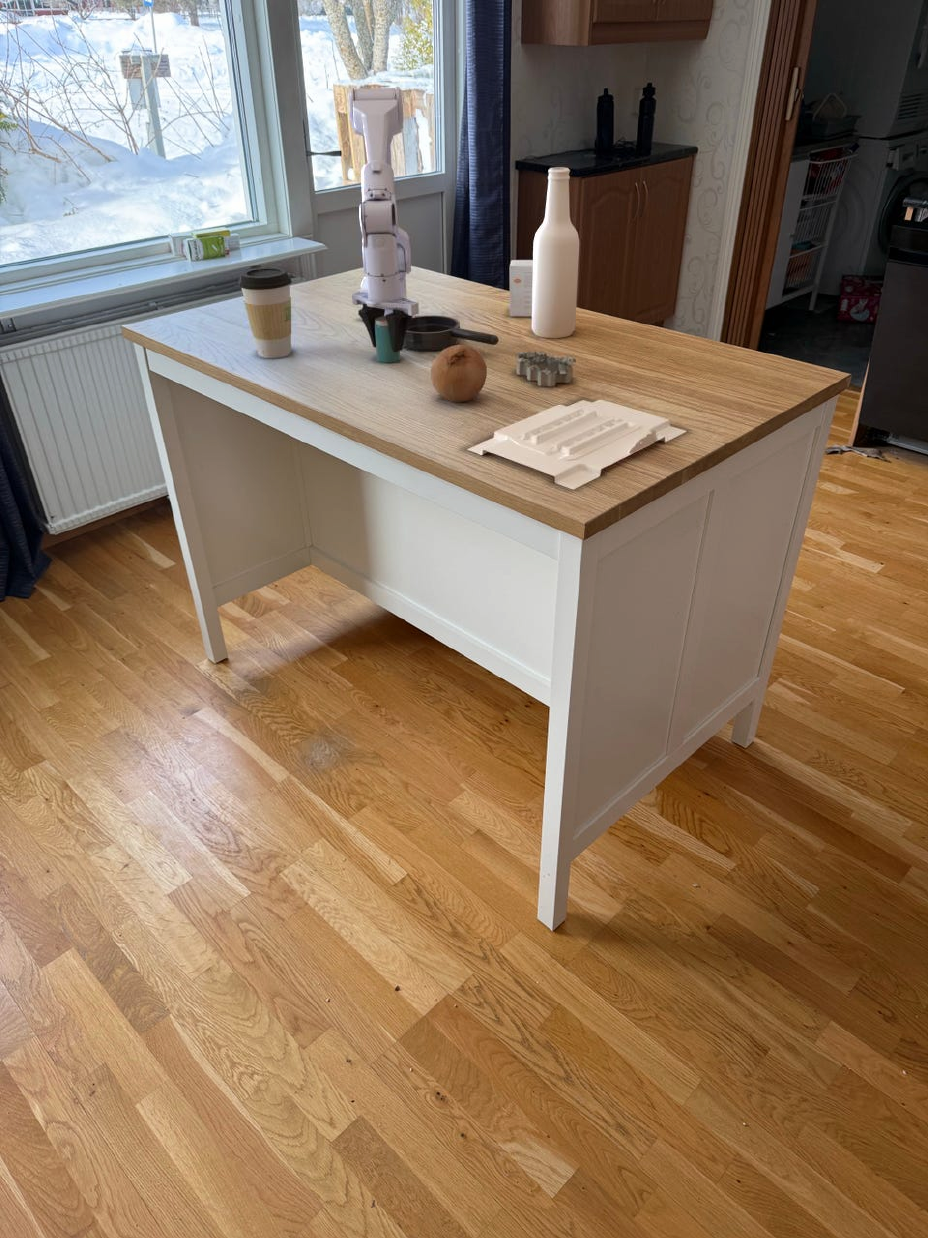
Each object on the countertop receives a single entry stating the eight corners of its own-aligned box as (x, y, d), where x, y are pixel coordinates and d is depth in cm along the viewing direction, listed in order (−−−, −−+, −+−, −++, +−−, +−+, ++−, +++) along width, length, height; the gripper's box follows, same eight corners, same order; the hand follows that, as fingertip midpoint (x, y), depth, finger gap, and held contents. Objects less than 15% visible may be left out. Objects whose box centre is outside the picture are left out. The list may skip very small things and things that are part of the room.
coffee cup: (310, 348, 176) (300, 268, 168) (281, 363, 169) (270, 280, 160) (268, 343, 180) (257, 264, 171) (238, 357, 172) (225, 276, 164)
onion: (465, 423, 150) (465, 380, 141) (420, 399, 153) (417, 355, 144) (497, 388, 154) (499, 344, 145) (452, 365, 156) (451, 321, 148)
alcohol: (569, 340, 177) (577, 172, 161) (526, 336, 180) (529, 171, 163) (579, 327, 184) (587, 165, 167) (537, 324, 187) (541, 164, 170)
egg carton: (577, 382, 157) (579, 359, 155) (540, 389, 154) (541, 366, 152) (546, 365, 165) (547, 342, 163) (510, 371, 162) (511, 349, 160)
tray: (465, 449, 133) (465, 425, 131) (581, 405, 150) (583, 383, 148) (573, 490, 121) (576, 464, 119) (686, 437, 138) (690, 414, 136)
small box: (547, 309, 196) (548, 259, 190) (546, 317, 191) (548, 265, 185) (510, 309, 197) (510, 259, 191) (508, 316, 192) (509, 265, 186)
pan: (386, 344, 177) (385, 326, 175) (425, 329, 185) (424, 312, 183) (434, 355, 171) (433, 336, 169) (472, 339, 179) (472, 321, 177)
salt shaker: (372, 359, 169) (369, 319, 165) (387, 353, 172) (384, 314, 168) (389, 364, 167) (387, 323, 163) (405, 357, 170) (402, 317, 166)
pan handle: (448, 337, 173) (448, 327, 172) (454, 334, 175) (453, 325, 174) (494, 346, 168) (494, 337, 167) (500, 344, 169) (500, 334, 168)
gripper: (338, 272, 162) (345, 347, 170) (399, 282, 155) (403, 360, 162) (364, 264, 167) (369, 337, 174) (424, 274, 159) (427, 350, 167)
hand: (387, 348), depth 169 cm, fingers closed on salt shaker, 4 cm apart
